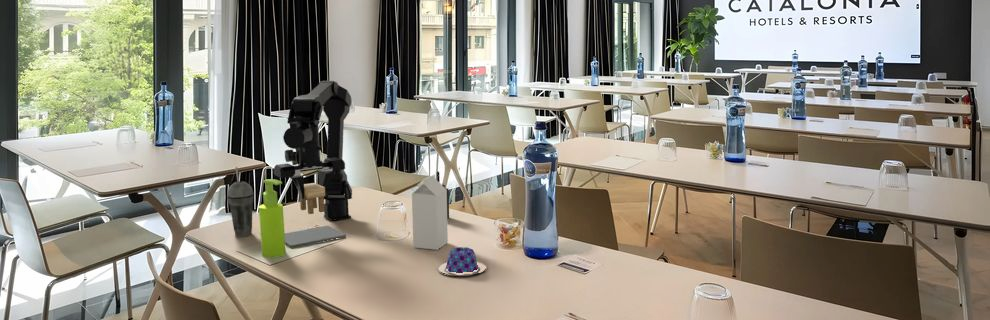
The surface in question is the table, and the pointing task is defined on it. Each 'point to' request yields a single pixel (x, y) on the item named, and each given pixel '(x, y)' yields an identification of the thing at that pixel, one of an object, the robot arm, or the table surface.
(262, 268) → the table surface
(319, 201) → the oak stool
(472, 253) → the pudding
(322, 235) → the grey rectangular board
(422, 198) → the milk carton
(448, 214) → the walkie-talkie
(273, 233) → the soap dispenser
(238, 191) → the beverage cup
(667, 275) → the table surface
